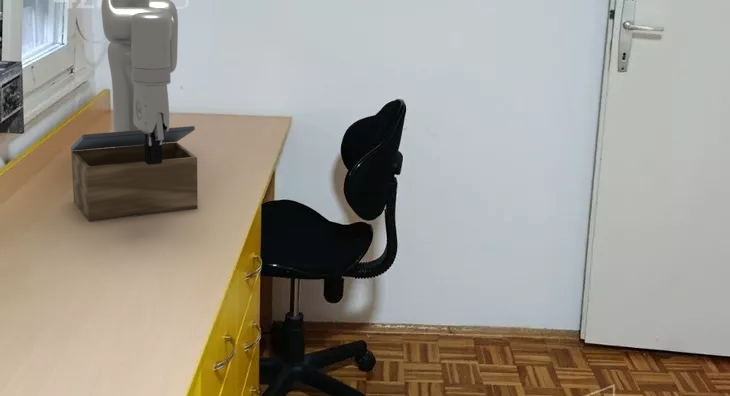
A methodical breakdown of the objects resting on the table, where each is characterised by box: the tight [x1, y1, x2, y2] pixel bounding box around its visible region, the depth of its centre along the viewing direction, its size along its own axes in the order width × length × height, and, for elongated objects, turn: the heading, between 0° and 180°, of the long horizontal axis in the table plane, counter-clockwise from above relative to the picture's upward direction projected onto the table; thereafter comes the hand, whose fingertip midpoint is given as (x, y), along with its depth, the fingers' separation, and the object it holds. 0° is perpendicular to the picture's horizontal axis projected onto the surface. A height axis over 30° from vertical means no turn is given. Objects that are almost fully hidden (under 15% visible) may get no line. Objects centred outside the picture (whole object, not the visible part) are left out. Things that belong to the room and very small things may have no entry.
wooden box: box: [70, 141, 199, 223], centre depth 197 cm, size 14×24×12 cm, turn 120°
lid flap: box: [70, 125, 196, 152], centre depth 195 cm, size 14×24×1 cm, turn 119°
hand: (153, 162), depth 183 cm, fingers closed
